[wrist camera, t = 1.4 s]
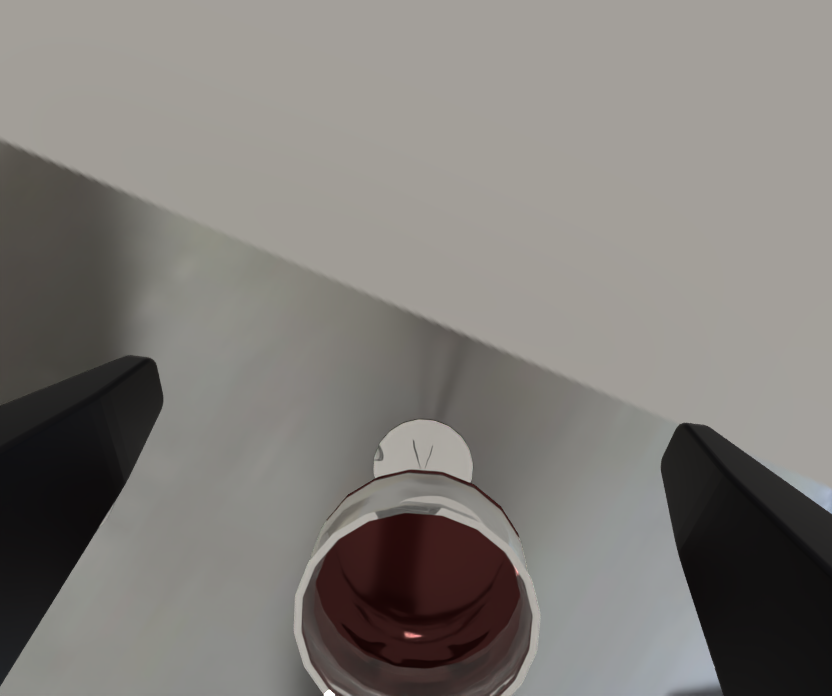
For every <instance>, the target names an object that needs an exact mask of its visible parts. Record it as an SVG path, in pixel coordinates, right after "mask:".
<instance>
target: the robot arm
mask: <svg viewBox="0 0 832 696" xmlns="http://www.w3.org/2000/svg"><path fill="white" fill-rule="evenodd" d="M162 406H163V392H162V387H161V383H160V378H159V373H158V369H157V365H156V363H155V361H154V360H153V359H151V358H149V357H141V356H133V355H128V356H124V357H122V358H119V359H117V360H114V361H112V362H109V363H107V364H104V365H102V366H99V367H97V368H94V369H92V370H89V371H87V372H84V373H82V374H79V375H76V376H74V377H71V378H69V379H66V380H64V381H61V382H59V383H56V384H54V385H51V386H49V387H46V388H44V389H41V390H39V391H36V392H34V393H31V394H29V395H26V396H24V397H21V398H18V399H16V400H13V401H11V402H8V403H6V404H3V405H1V406H0V686H1V684H2V683H3V681H4V679H5V678H6V676H7V675H8V673H9V671H10V670H11V668H12V667H13V665H14V663H15V662H16V660H17V658H18V657H19V655H20V654H21V652H22V650H23V649H24V647H25V646H26V644H27V642H28V641H29V639H30V638H31V636H32V634H33V633H34V631H35V629H36V628H37V626H38V625H39V623H40V621H41V620H42V618H43V617H44V615H45V613H46V612H47V610H48V609H49V607H50V605H51V604H52V602H53V600H54V599H55V597H56V596H57V594H58V592H59V591H60V589H61V588H62V586H63V584H64V583H65V581H66V580H67V578H68V576H69V575H70V573H71V571H72V570H73V568H74V567H75V565H76V563H77V562H78V560H79V559H80V557H81V555H82V554H83V552H84V551H85V549H86V547H87V546H88V544H89V542H90V541H91V539H92V538H93V536H94V534H95V533H96V531H97V530H98V528H99V526H100V525H101V523H102V522H103V520H104V518H105V517H106V515H107V513H108V512H109V510H110V509H111V507H112V505H113V504H114V502H115V501H116V499H117V497H118V496H119V494H120V492H121V491H122V489H123V487H124V486H125V484H126V482H127V480H128V478H129V476H130V474H131V472H132V470H133V468H134V466H135V464H136V462H137V460H138V458H139V456H140V453H141V451H142V449H143V447H144V445H145V443H146V441H147V439H148V437H149V435H150V432H151V430H152V428H153V426H154V424H155V422H156V420H157V418H158V416H159V414H160V411H161V409H162ZM661 473H662V478H663V483H664V488H665V493H666V498H667V503H668V508H669V513H670V518H671V523H672V528H673V533H674V538H675V542H676V546H677V551H678V554H679V558H680V561H681V565H682V568H683V571H684V574H685V577H686V580H687V583H688V587H689V590H690V593H691V596H692V599H693V602H694V605H695V608H696V611H697V614H698V618H699V621H700V624H701V627H702V630H703V633H704V636H705V639H706V642H707V645H708V649H709V652H710V655H711V658H712V661H713V664H714V667H715V670H716V673H717V676H718V680H719V683H720V686H721V689H722V692H723V695H724V696H832V514H831V513H829V512H828V511H826V510H825V509H824V508H822V507H821V506H819V505H818V504H817V503H815V502H814V501H812V500H811V499H810V498H808V497H807V496H805V495H804V494H803V493H801V492H800V491H798V490H797V489H796V488H794V487H793V486H791V485H790V484H789V483H787V482H786V481H784V480H783V479H782V478H780V477H779V476H777V475H776V474H775V473H773V472H772V471H770V470H769V469H768V468H766V467H765V466H763V465H762V464H761V463H759V462H758V461H756V460H755V459H754V458H752V457H751V456H749V455H748V454H747V453H745V452H744V451H742V450H741V449H739V448H738V447H737V446H735V445H734V444H732V443H731V442H730V441H728V440H727V439H725V438H724V437H723V436H721V435H720V434H718V433H717V432H716V431H714V430H713V429H711V428H710V427H708V426H706V425H700V424H692V423H682V424H680V425H679V426H678V427H677V428H676V430H675V432H674V434H673V436H672V438H671V440H670V442H669V444H668V447H667V449H666V451H665V453H664V455H663V457H662V461H661Z"/></svg>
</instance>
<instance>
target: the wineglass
mask: <svg viewBox="0 0 832 696" xmlns="http://www.w3.org/2000/svg"><path fill="white" fill-rule="evenodd" d="M472 470H473V462H472V458H471V454H470V450H469V448H468V446H467V445H466V443H465V442H464V440H463V439H462V437H461V436H460V435H459V434H458V433H456V432H455V431H454V430H453V429H452V428H450V427H449V426H447V425H444V424H442V423H439V422H437V421H434V420H420V419H418V420H414V421H410V422H406V423H403V424H401V425H399V426H398V427H396V428H394V429H393V430H391V431H390V432H389V433H388V434H387V435H386V436H385V438H384V439H383V440H382V441H381V442H380V444H379V447H378V449H377V452H376V454H375V457H374V475H375V479H373V480H372V481H370V482H368V483H367V484H365V485H363V486H362V487H360V488H358V489H357V490H355V491H353V492H352V493H350V494H348V496H347V497H346V498H345V499H344V500H343V501H342V503H341V504H340V505H339V506H338V507H337V508H336V510H335V511H334V512H333V513H332V514H331V515H330V517H329V518H328V519H327V521H326V523H325V524H324V525H323V526H322V528H321V531H320V533H319V536H318V538H317V541H316V543H315V546H314V548H313V551H312V553H311V556H310V561H309V562H308V565H307V567H306V570H305V572H304V575H303V577H302V580H301V582H300V585H299V587H298V590H297V592H296V595H295V610H294V635H295V638H296V641H297V645H298V648H299V651H300V655H301V658H302V661H303V665H304V667H305V668H306V670H307V671H308V673H309V674H310V676H311V677H312V679H313V680H314V681H315V683H316V684H317V686H318V687H319V689H320V690H321V691H322V693H323V694H324V696H511V695H512V694H513V693H514V692H515V691H516V690H517V689H518V688H519V687H520V686H521V685H522V683H523V681H524V678H525V676H526V674H527V672H528V670H529V668H530V666H531V663H532V661H533V659H534V657H535V655H536V653H537V647H538V638H539V628H540V618H541V614H540V610H539V606H538V602H537V598H536V594H535V590H534V586H533V581H532V579H531V577H530V576H529V572H528V568H527V564H526V560H525V556H524V551H523V547H522V543H521V541H520V539H519V535H518V533H517V531H516V530H515V528H514V526H513V525H512V523H511V522H510V520H509V519H508V517H507V515H506V514H505V512H504V511H503V509H502V508H501V506H500V505H499V504H497V503H496V502H495V501H494V500H492V499H491V498H490V497H489V496H488V495H486V494H485V493H484V492H483V491H481V490H480V489H479V488H478V487H477V486H475V485H474V484H472V483H470V482H471V480H472Z"/></svg>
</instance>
